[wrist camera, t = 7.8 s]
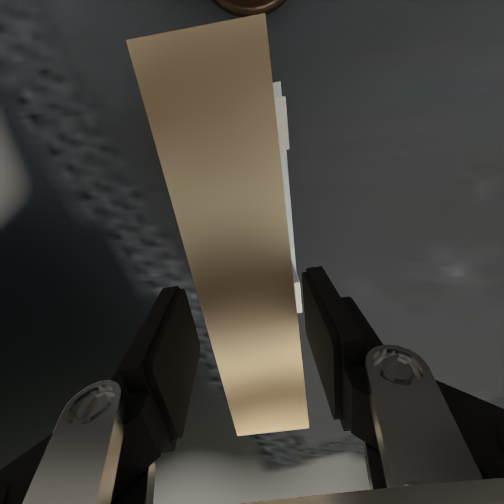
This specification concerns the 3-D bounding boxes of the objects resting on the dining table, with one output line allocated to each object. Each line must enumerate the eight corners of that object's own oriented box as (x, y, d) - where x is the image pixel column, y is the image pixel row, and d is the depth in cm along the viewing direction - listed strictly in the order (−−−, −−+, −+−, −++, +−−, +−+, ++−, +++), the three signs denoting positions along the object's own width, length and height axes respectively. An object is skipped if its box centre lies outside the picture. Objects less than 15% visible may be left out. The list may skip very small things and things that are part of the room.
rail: (182, 84, 14) (126, 40, 7) (257, 70, 14) (265, 12, 7) (240, 344, 21) (237, 436, 15) (290, 338, 21) (309, 428, 14)
